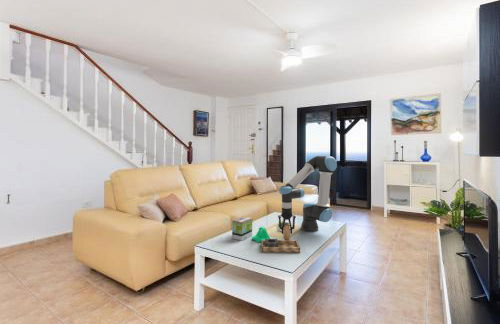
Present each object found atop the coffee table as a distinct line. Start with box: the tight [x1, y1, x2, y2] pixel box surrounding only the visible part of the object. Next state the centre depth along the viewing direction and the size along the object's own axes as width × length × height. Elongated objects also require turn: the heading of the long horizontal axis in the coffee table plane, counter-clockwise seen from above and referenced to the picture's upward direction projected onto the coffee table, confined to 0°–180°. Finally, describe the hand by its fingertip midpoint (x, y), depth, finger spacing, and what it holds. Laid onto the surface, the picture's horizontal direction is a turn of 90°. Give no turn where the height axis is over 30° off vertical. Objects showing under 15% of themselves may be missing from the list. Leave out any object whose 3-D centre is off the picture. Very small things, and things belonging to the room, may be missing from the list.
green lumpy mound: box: [251, 226, 271, 244], centre depth 200 cm, size 12×8×10 cm, turn 54°
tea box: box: [231, 216, 253, 242], centre depth 207 cm, size 15×10×15 cm, turn 148°
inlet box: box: [260, 238, 301, 254], centre depth 184 cm, size 26×14×6 cm, turn 89°
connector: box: [283, 222, 290, 240], centre depth 197 cm, size 4×4×14 cm
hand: (286, 237), depth 197 cm, fingers closed on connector, 4 cm apart
